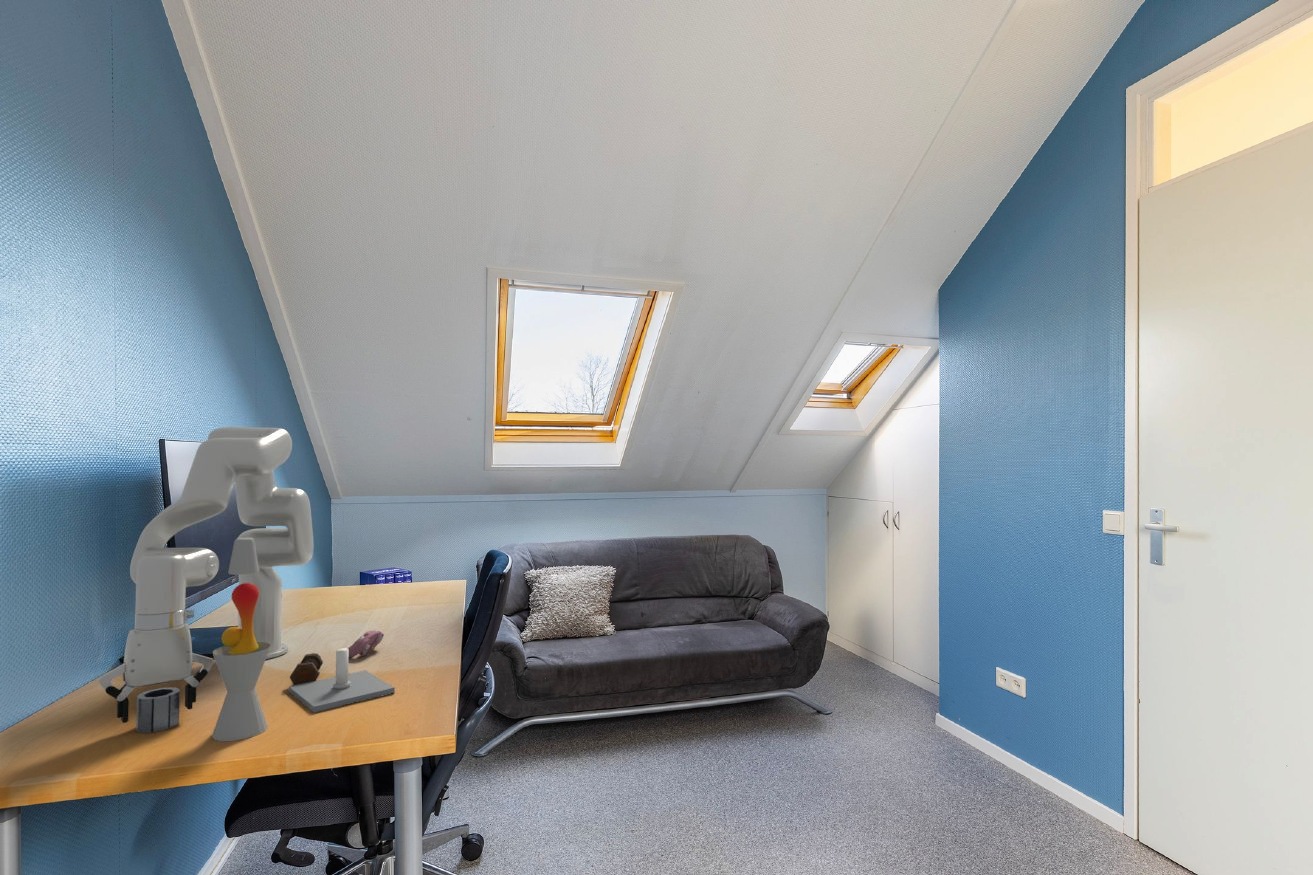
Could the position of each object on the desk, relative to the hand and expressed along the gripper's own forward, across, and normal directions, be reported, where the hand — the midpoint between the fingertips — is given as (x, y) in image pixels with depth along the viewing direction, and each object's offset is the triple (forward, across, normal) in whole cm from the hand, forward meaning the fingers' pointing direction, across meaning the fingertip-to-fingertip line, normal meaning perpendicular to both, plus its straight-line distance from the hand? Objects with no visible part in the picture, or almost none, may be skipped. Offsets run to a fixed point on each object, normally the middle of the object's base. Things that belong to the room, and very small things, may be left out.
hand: (157, 713), depth 125 cm
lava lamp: (+3, -11, +13) cm, 17 cm away
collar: (+2, 0, 0) cm, 2 cm away
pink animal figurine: (+2, -46, -21) cm, 50 cm away
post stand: (+2, -31, +5) cm, 32 cm away
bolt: (+2, -30, -11) cm, 32 cm away
